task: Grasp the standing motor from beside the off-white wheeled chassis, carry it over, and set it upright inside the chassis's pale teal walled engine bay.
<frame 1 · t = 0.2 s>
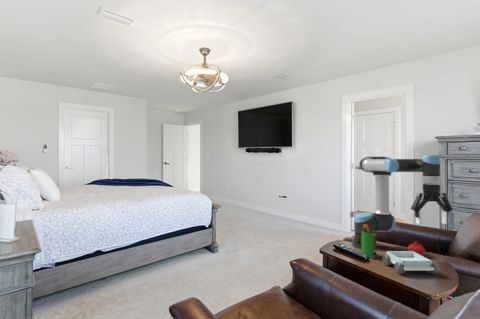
hand: (431, 223, 136), 28 cm above the table, tool pointing down, fingers open, 13 cm apart
chassis: (408, 269, 145), on the table
pomegranate: (416, 255, 167), on the table
motor: (369, 256, 165), on the table
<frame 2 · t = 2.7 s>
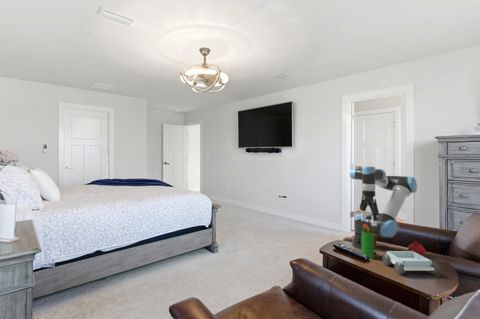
hand: (368, 223, 165), 21 cm above the table, tool pointing down, fingers open, 13 cm apart
nothing on the table moved.
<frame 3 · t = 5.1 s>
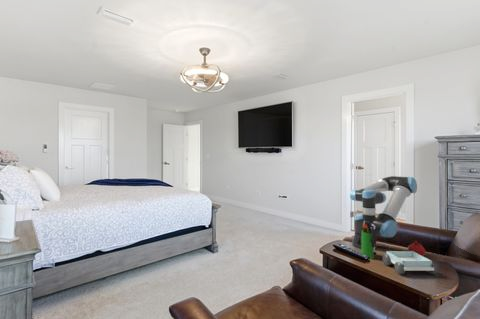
hand: (369, 249, 165), 4 cm above the table, tool pointing down, fingers closed on motor, 7 cm apart
motor: (368, 256, 165), on the table, touching gripper
everything else where it was.
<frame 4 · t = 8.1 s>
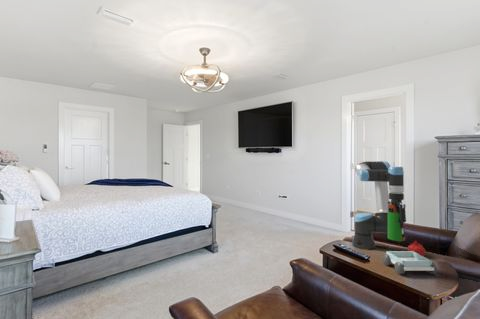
hand: (396, 232, 149), 20 cm above the table, tool pointing down, fingers closed on motor, 7 cm apart
motor: (396, 239, 150), point 15 cm above the table, touching gripper
everything else where it was.
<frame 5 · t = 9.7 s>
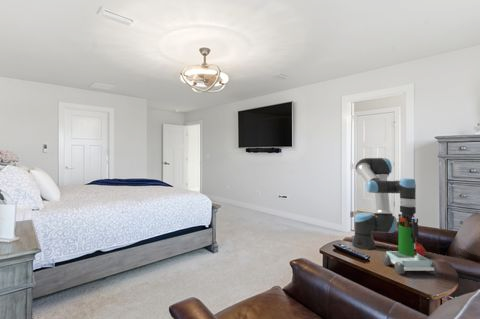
hand: (408, 246, 145), 13 cm above the table, tool pointing down, fingers closed on motor, 7 cm apart
motor: (407, 253, 145), point 9 cm above the table, touching gripper
everything else where it was.
when the fingers open (10 cm above the table, at t = 10.9 s): motor drops 2 cm, resting on chassis.
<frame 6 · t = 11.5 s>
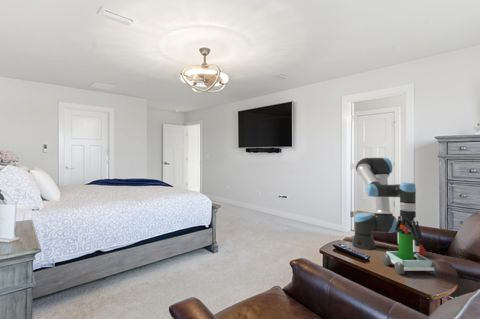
hand: (407, 247, 145), 12 cm above the table, tool pointing down, fingers open, 13 cm apart
motor: (407, 261, 145), point 4 cm above the table, touching chassis
everything else where it was.
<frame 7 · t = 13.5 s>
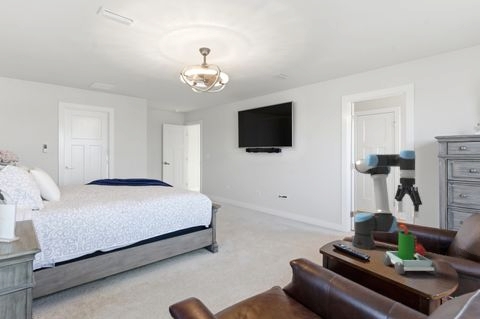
hand: (407, 214, 145), 31 cm above the table, tool pointing down, fingers open, 13 cm apart
nothing on the table moved.
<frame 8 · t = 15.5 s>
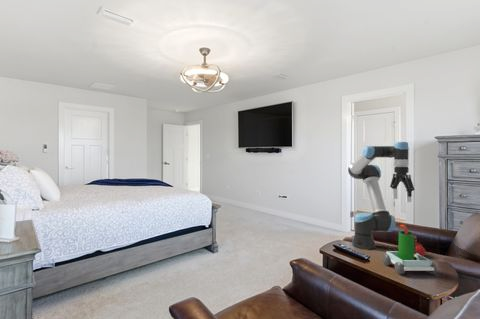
hand: (401, 200, 160), 37 cm above the table, tool pointing down, fingers open, 13 cm apart
nothing on the table moved.
at the end: motor 0.4 cm off-centre on the chassis, point 4.3 cm above the chassis's base; motor tilted 0°; the gripper is holding nothing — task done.
